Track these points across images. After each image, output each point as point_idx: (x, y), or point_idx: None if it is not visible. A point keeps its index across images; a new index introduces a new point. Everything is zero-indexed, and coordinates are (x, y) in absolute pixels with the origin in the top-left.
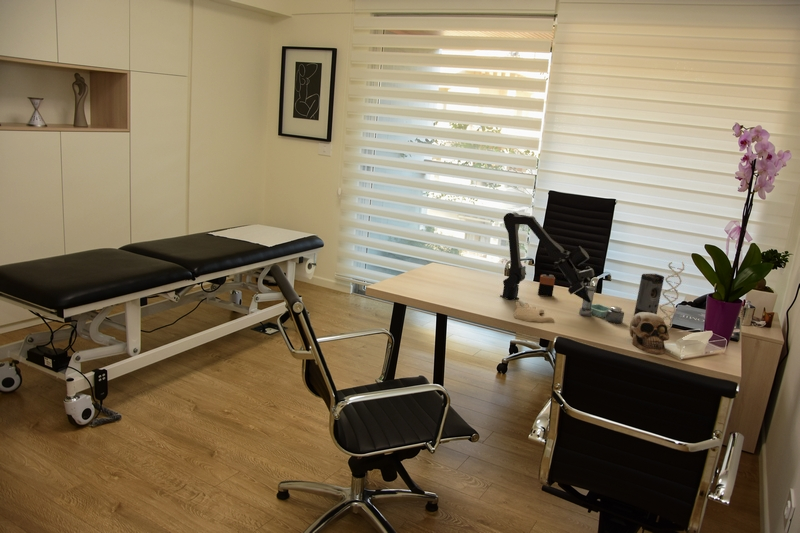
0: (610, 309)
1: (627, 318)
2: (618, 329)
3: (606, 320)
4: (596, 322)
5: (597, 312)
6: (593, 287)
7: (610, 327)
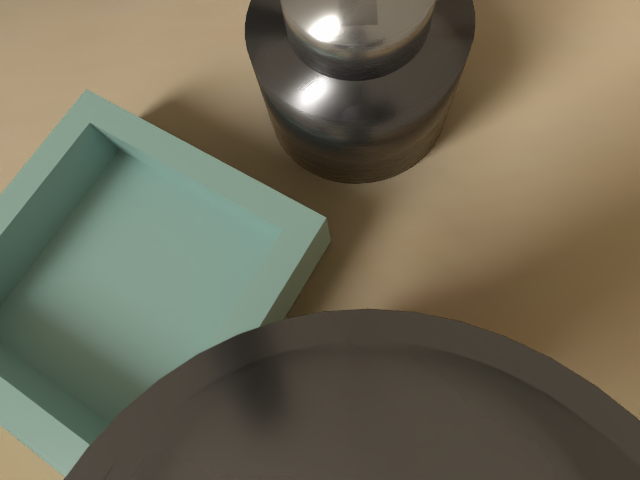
0: (377, 66)
1: (133, 27)
2: (628, 19)
3: (417, 160)
4: (586, 241)
5: (297, 277)
6: (213, 465)
7: (636, 87)
